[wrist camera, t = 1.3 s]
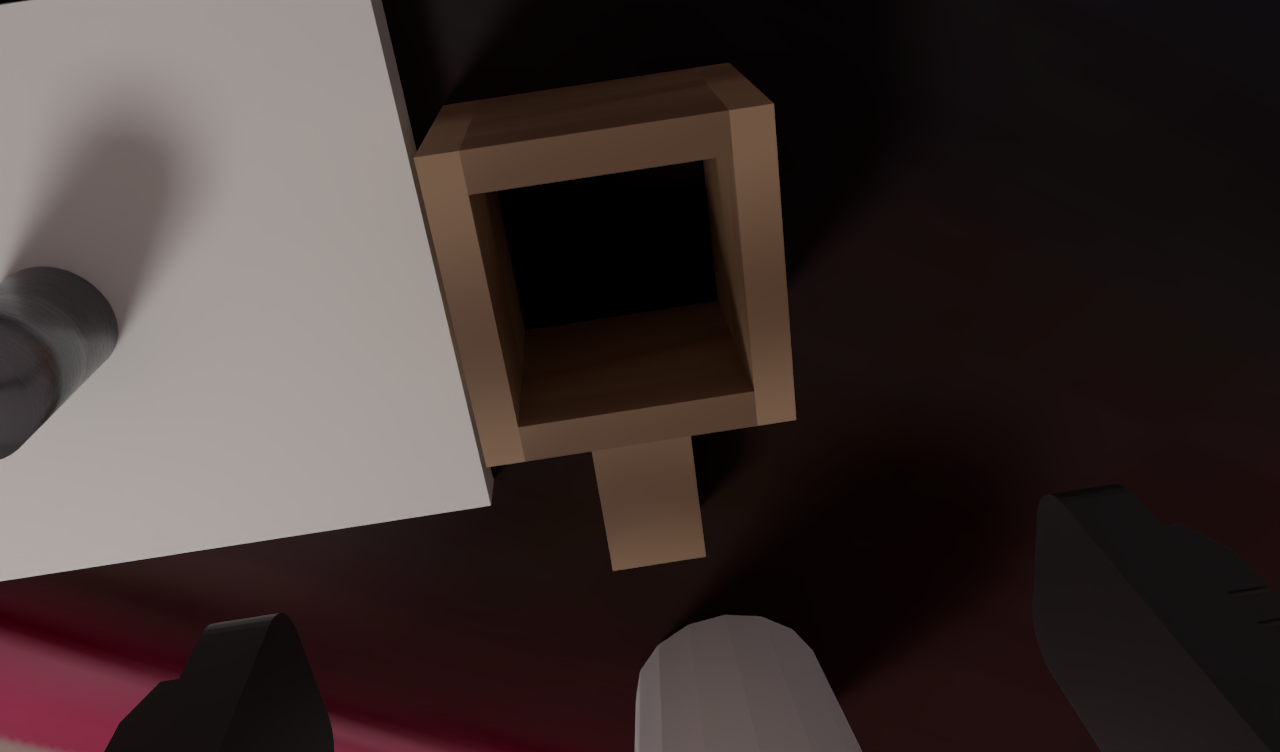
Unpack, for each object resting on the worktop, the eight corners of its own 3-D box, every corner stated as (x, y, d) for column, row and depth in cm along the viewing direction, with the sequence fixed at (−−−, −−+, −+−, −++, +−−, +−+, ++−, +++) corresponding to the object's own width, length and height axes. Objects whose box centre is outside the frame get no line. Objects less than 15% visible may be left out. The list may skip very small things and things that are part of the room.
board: (369, -51, 20) (359, -48, 19) (493, 480, 26) (490, 505, 25) (-456, 71, 20) (-513, 81, 19) (-148, 579, 26) (-179, 608, 25)
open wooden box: (443, 105, 22) (413, 157, 17) (728, 62, 22) (774, 103, 17) (537, 537, 27) (533, 665, 22) (767, 501, 27) (810, 621, 22)
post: (92, 258, 21) (-2, 330, 18) (134, 365, 22) (54, 452, 19) (-27, 276, 21) (-146, 351, 18) (22, 382, 22) (-80, 473, 19)
